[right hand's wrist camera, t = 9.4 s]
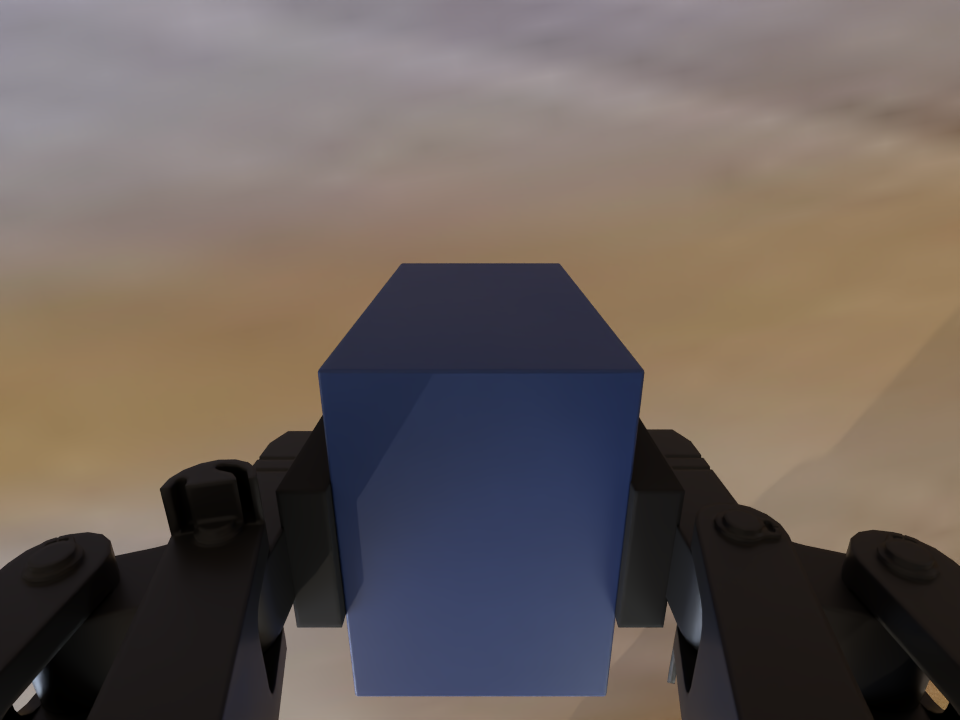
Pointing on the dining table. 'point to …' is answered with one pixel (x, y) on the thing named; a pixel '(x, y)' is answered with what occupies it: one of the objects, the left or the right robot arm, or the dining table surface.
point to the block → (480, 482)
